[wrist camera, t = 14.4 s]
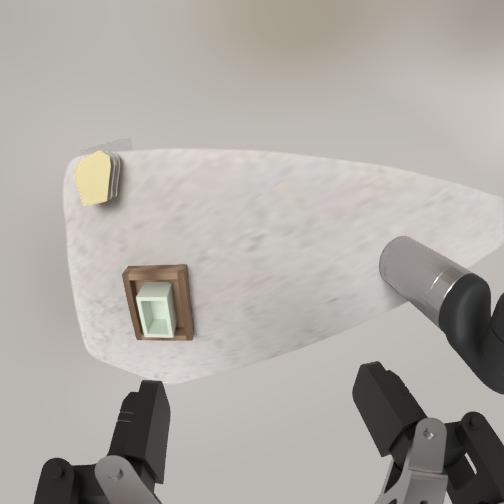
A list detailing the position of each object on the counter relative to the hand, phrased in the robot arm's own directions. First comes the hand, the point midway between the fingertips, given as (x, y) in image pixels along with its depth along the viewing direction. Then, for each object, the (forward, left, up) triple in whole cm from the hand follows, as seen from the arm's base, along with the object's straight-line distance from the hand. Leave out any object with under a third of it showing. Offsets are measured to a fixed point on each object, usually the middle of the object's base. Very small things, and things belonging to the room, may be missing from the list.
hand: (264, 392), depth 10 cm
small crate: (+12, +13, -31) cm, 36 cm away
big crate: (+12, +13, -32) cm, 37 cm away
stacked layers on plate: (+19, -8, -33) cm, 38 cm away
